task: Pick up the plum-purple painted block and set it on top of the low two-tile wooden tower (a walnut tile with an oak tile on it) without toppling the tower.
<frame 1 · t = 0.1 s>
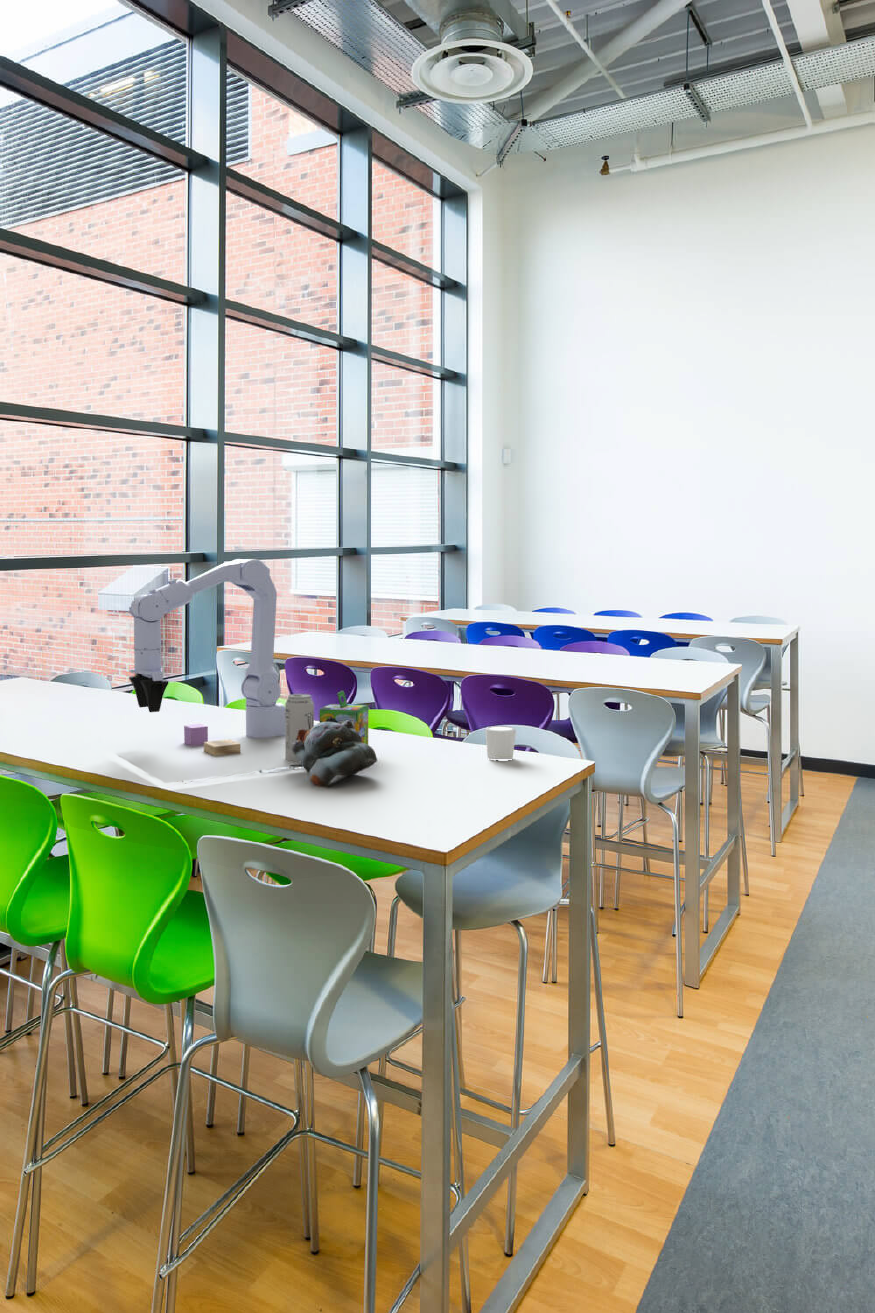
hand: (149, 709, 201), 10 cm above the table, tool pointing down, fingers open, 7 cm apart
walnut tile: (222, 760, 198), on the table
energy drink can: (299, 765, 193), on the table
oak tile: (222, 751, 198), point 1 cm above the table
purple block: (196, 749, 207), on the table
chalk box: (344, 758, 201), on the table
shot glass: (500, 759, 202), on the table
grey stuffed animal: (334, 781, 180), on the table
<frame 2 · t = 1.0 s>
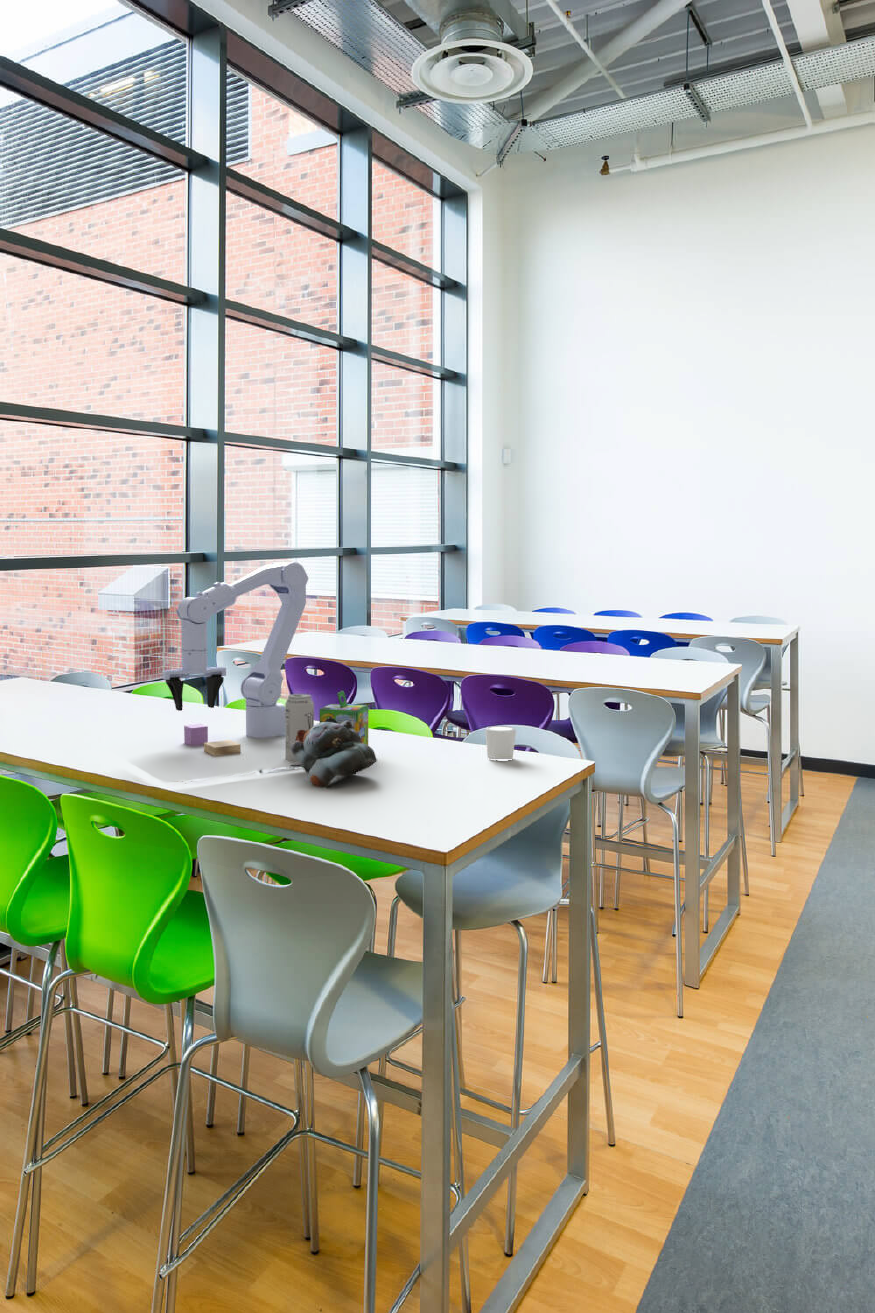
hand: (195, 708, 206), 9 cm above the table, tool pointing down, fingers open, 7 cm apart
nothing on the table moved.
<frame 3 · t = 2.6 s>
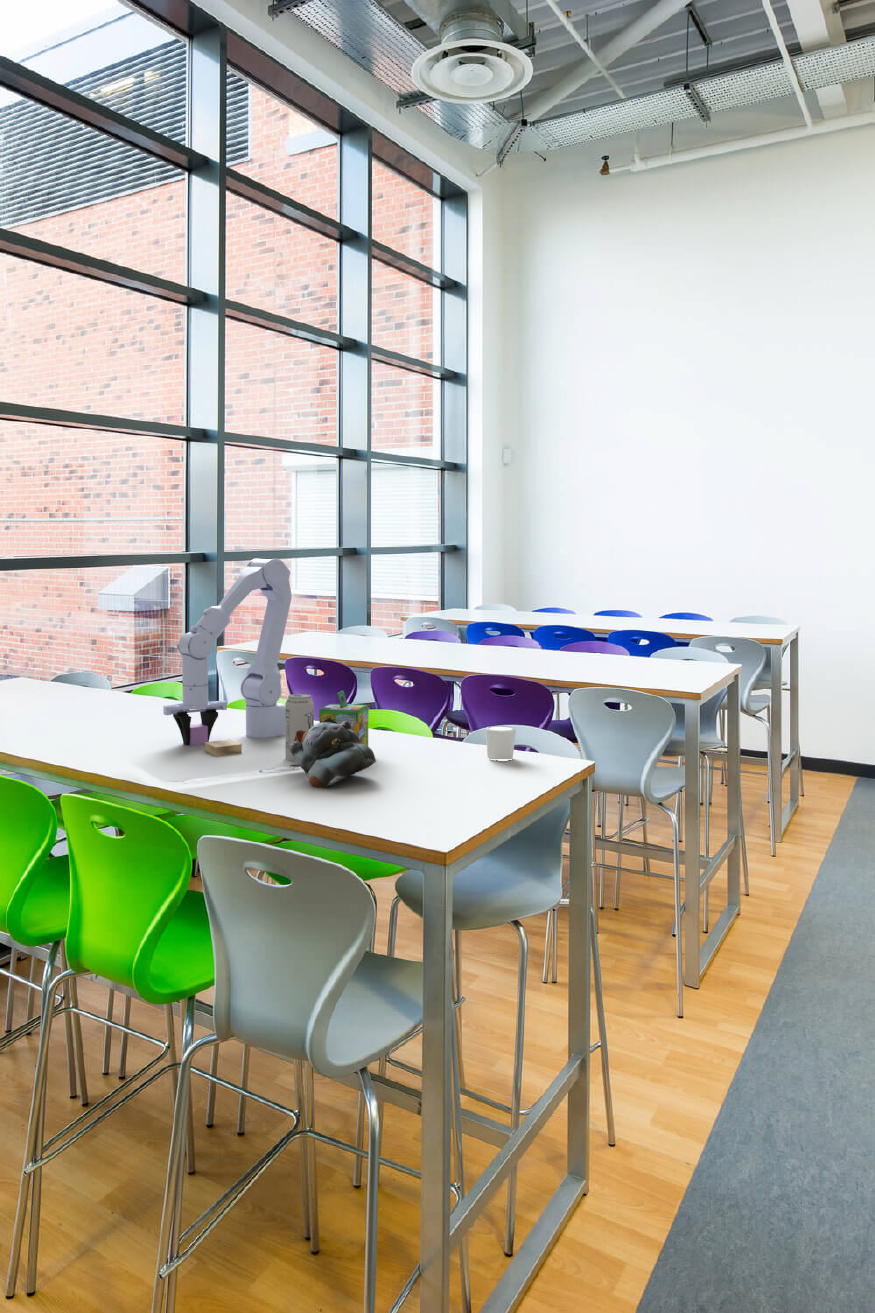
hand: (196, 743, 207), 1 cm above the table, tool pointing down, fingers closed on purple block, 4 cm apart
walnut tile: (222, 761, 198), on the table, touching oak tile
oak tile: (223, 752, 198), point 1 cm above the table, touching walnut tile
purple block: (196, 749, 207), on the table, touching gripper
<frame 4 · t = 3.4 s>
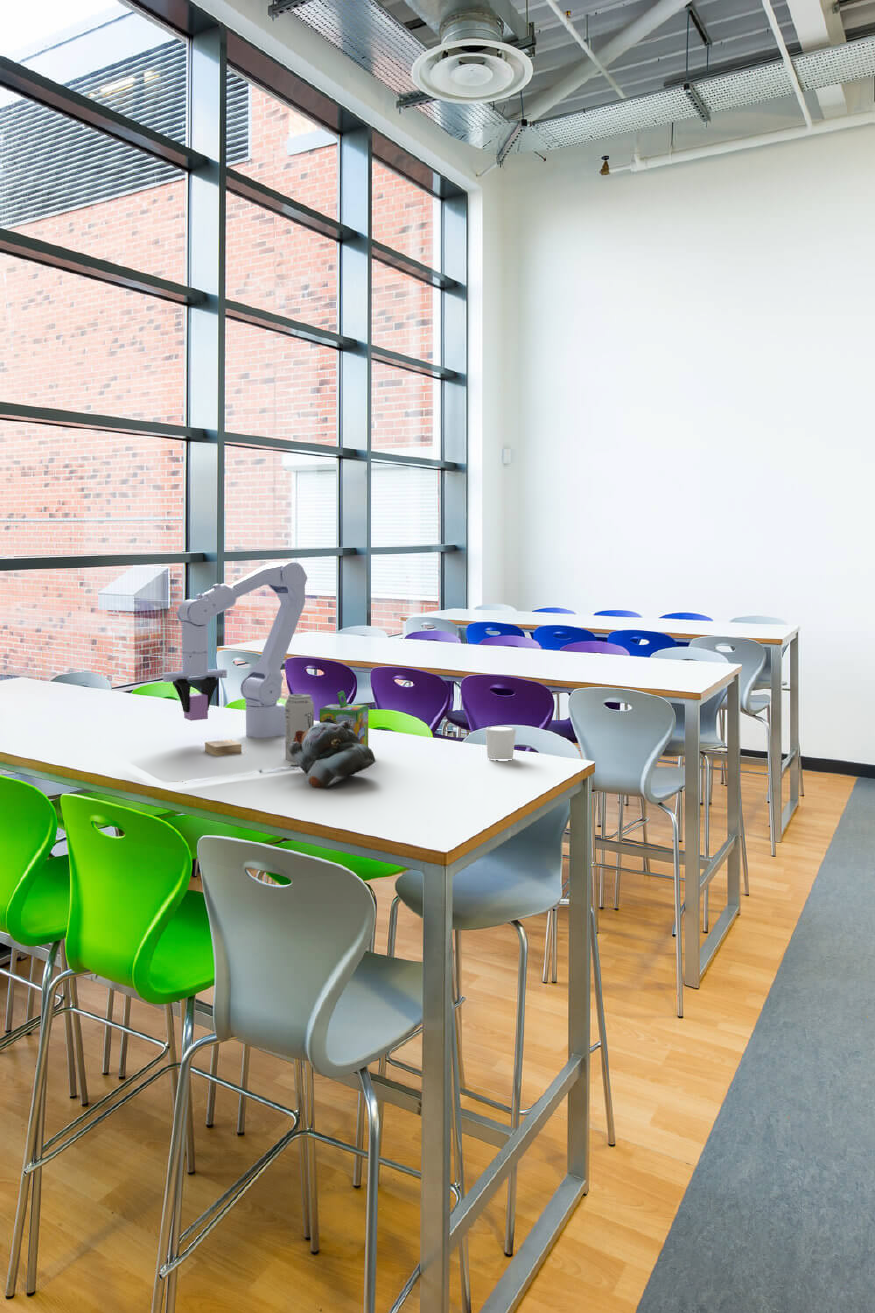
hand: (195, 710, 206), 9 cm above the table, tool pointing down, fingers closed on purple block, 4 cm apart
purple block: (196, 718, 206), point 7 cm above the table, touching gripper
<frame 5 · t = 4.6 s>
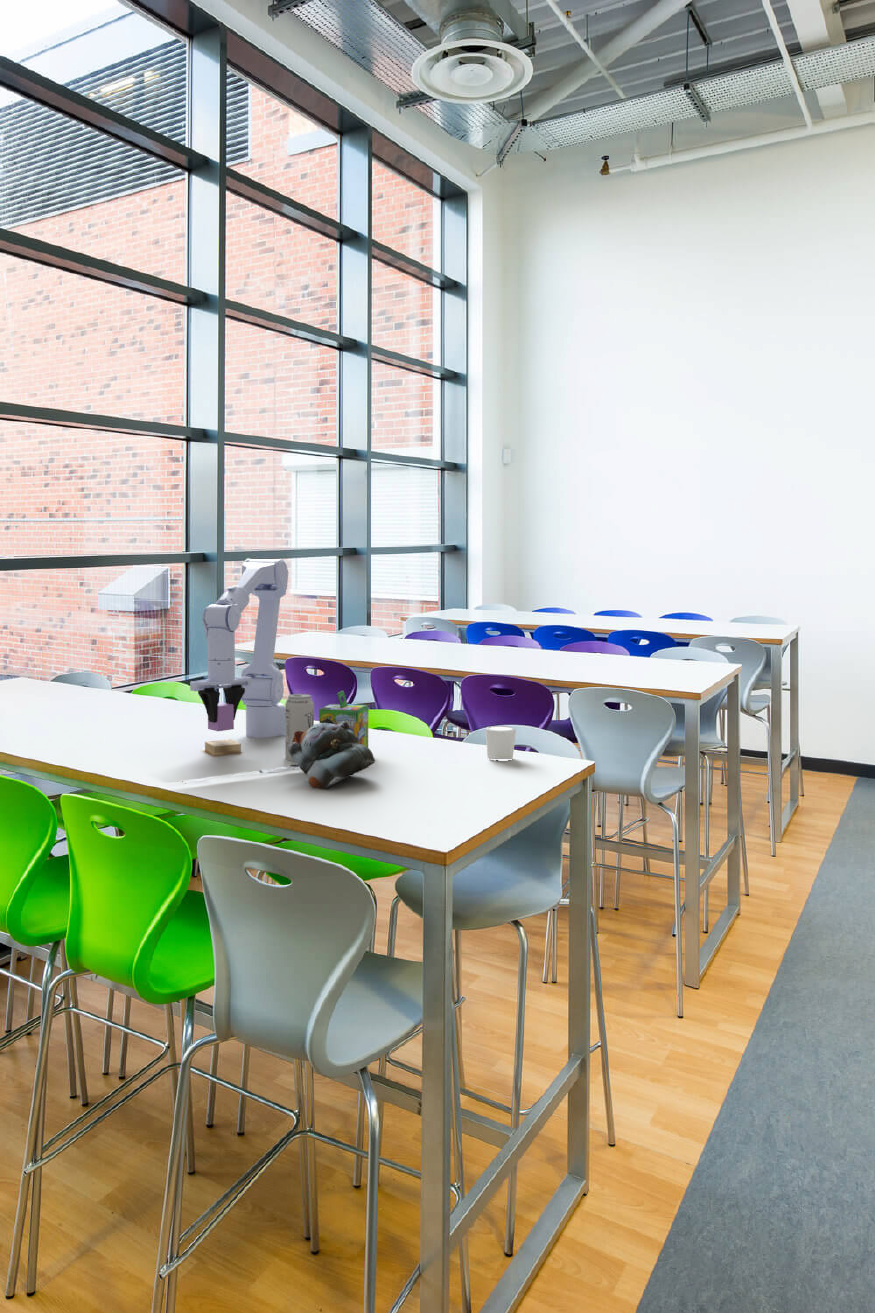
hand: (221, 720, 197), 8 cm above the table, tool pointing down, fingers closed on purple block, 4 cm apart
purple block: (220, 729, 198), point 6 cm above the table, touching gripper
when the fingers open (6 cm above the table, at t = 5.4 s): purple block drops 1 cm, resting on oak tile.
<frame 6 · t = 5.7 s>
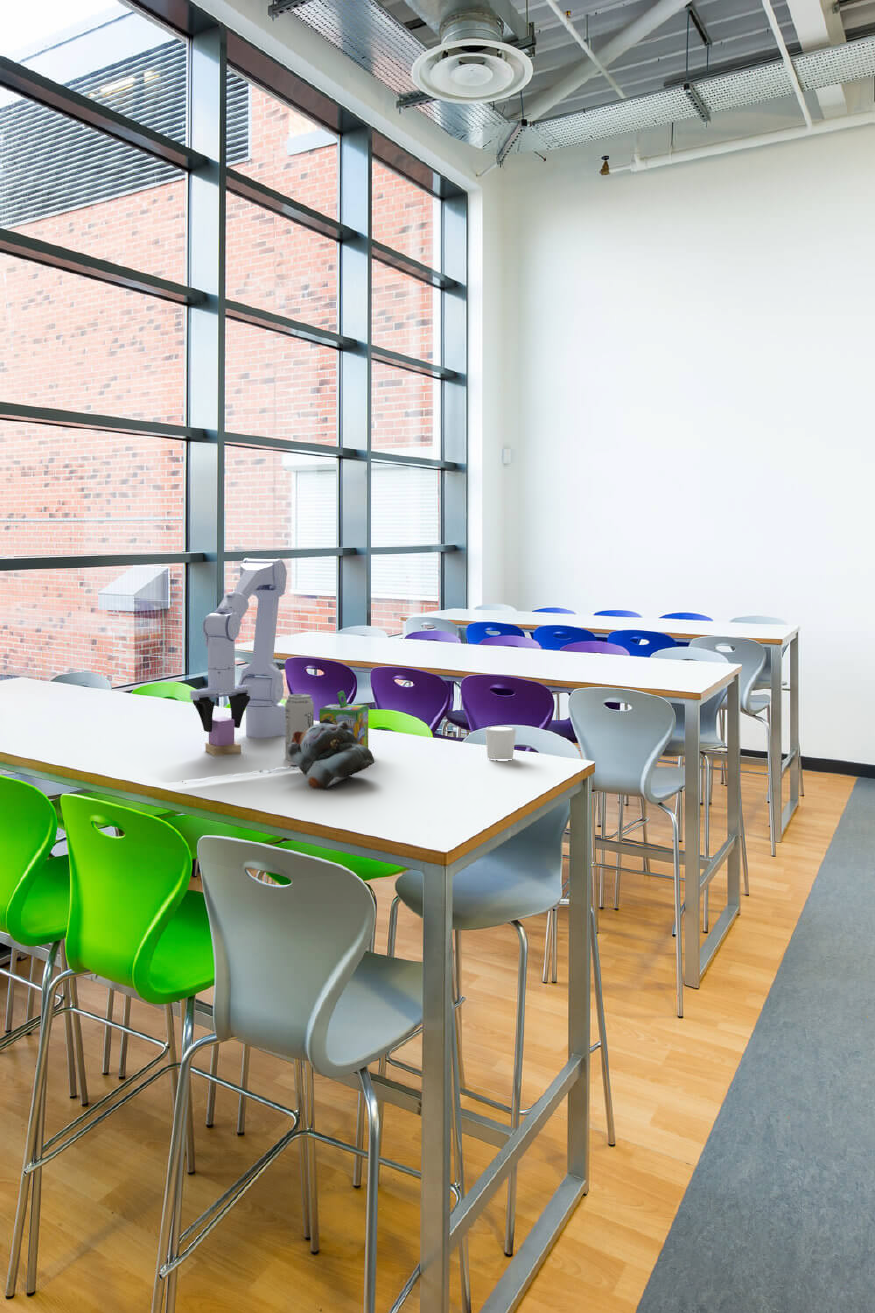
hand: (222, 729, 198), 6 cm above the table, tool pointing down, fingers open, 7 cm apart
oak tile: (223, 752, 198), point 1 cm above the table, touching purple block, walnut tile
purple block: (221, 743, 198), point 3 cm above the table, touching oak tile
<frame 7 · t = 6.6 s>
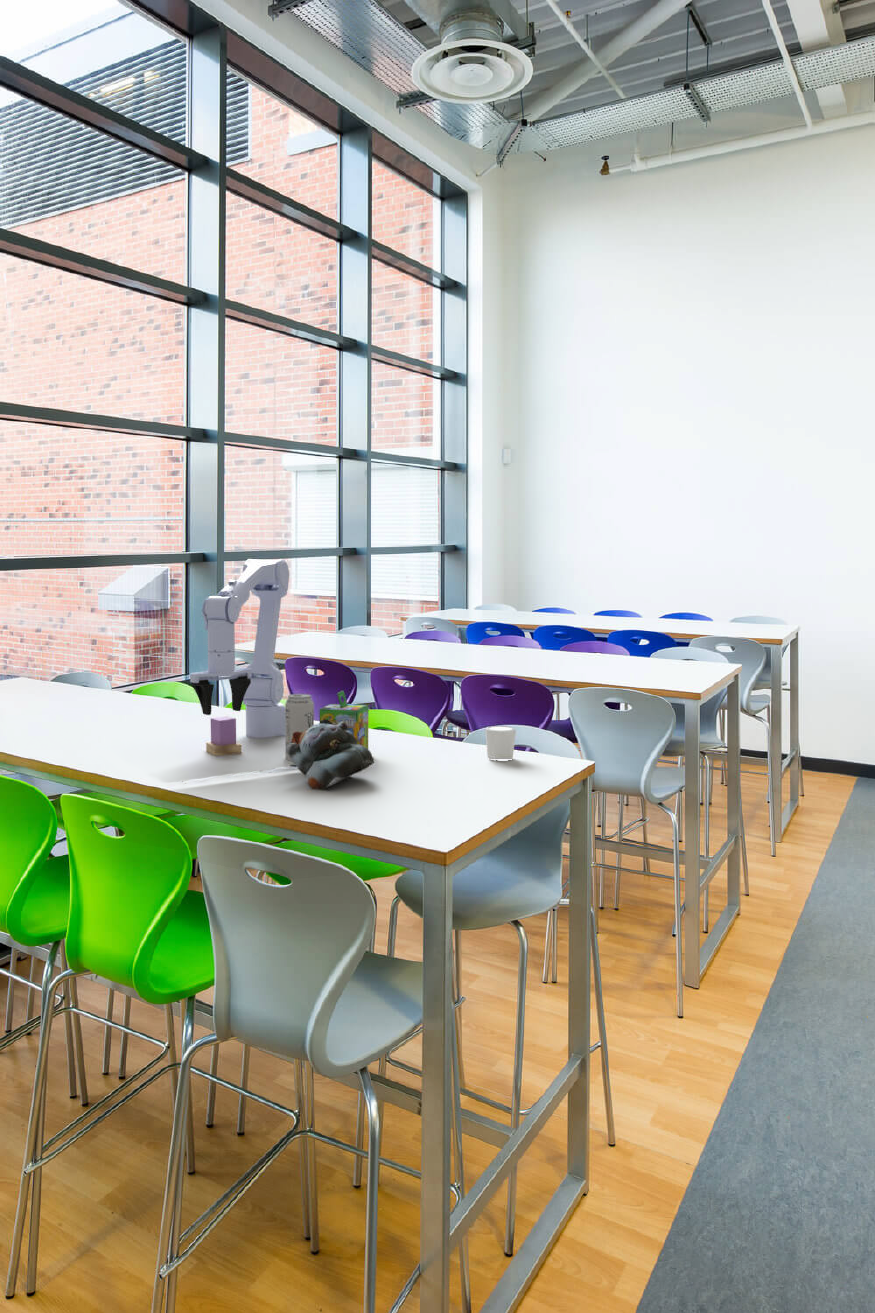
hand: (221, 712, 197), 10 cm above the table, tool pointing down, fingers open, 7 cm apart
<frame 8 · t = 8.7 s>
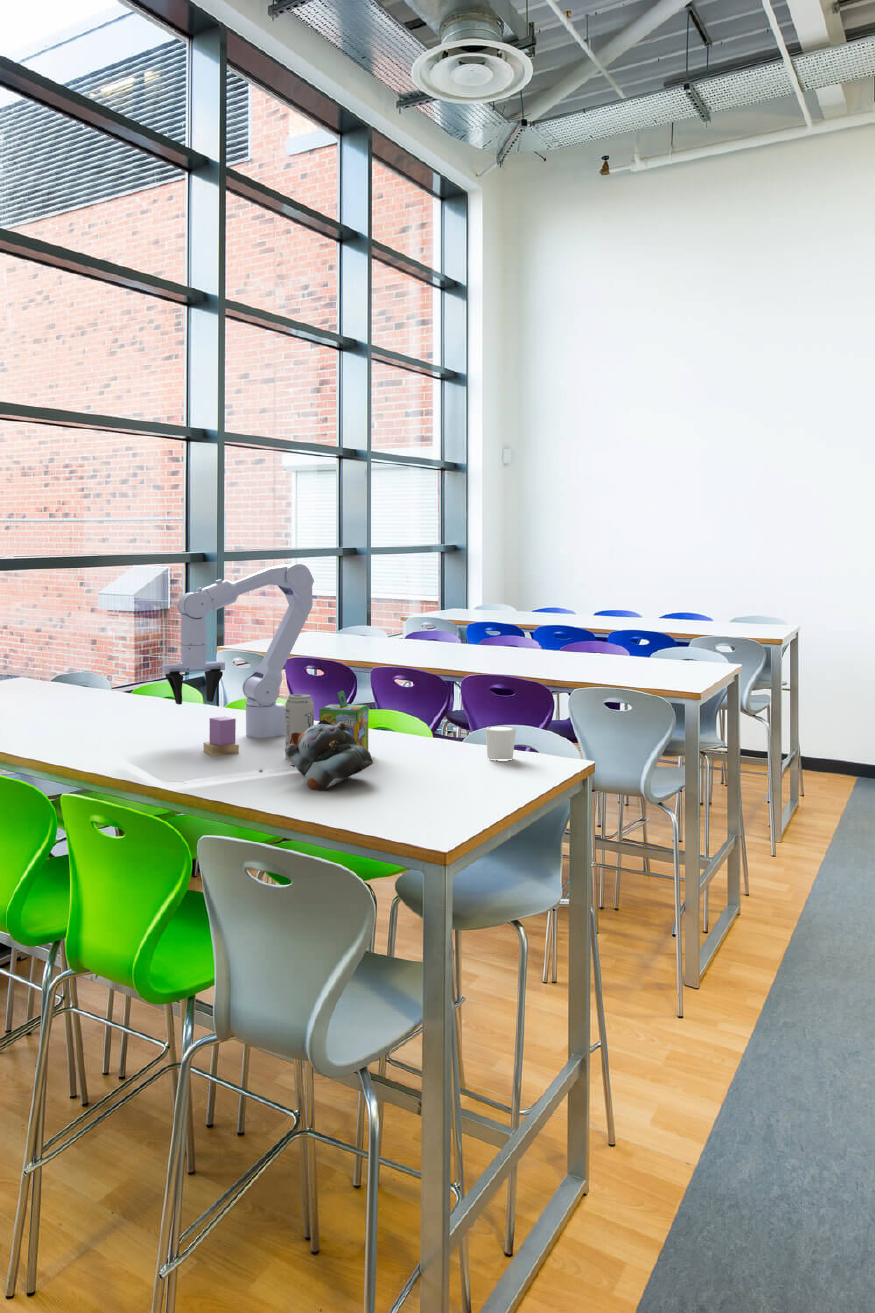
hand: (194, 702, 209), 10 cm above the table, tool pointing down, fingers open, 7 cm apart
at the end: purple block 0.3 cm off-centre on the oak tile, point 2.0 cm above the oak tile's base; purple block tilted 0°; oak tile moved 0.7 cm from its start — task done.
